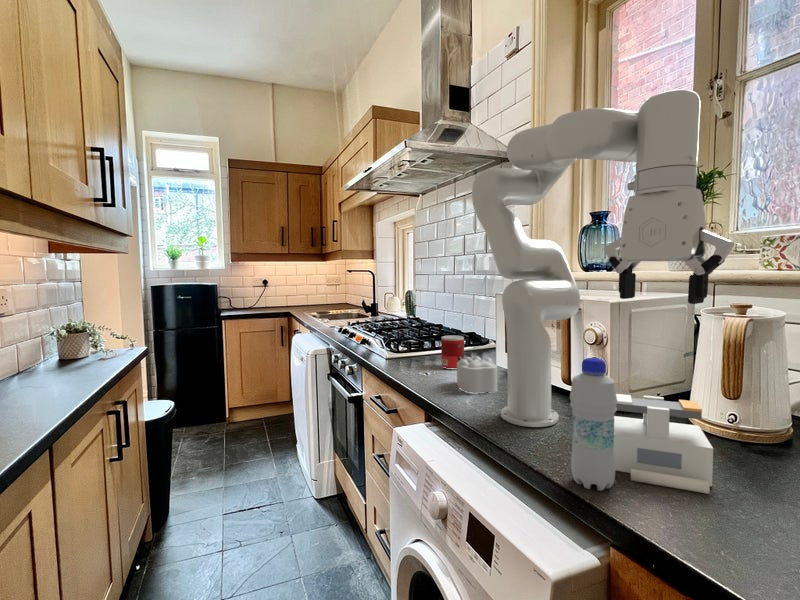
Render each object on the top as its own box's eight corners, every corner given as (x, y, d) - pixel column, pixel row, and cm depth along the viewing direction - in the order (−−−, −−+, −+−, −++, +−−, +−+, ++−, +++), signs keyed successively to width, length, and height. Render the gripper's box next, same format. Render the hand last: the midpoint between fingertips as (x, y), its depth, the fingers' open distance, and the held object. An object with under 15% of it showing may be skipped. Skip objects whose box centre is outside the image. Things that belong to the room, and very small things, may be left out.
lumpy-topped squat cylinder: (465, 395, 112) (465, 364, 112) (451, 383, 125) (451, 355, 125) (501, 392, 114) (501, 361, 114) (484, 380, 127) (484, 353, 126)
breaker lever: (615, 402, 75) (615, 393, 74) (695, 410, 69) (695, 400, 69) (616, 410, 70) (616, 401, 70) (701, 419, 65) (702, 409, 65)
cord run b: (631, 482, 65) (631, 471, 64) (630, 477, 66) (630, 466, 66) (709, 496, 60) (709, 484, 60) (706, 490, 62) (706, 478, 62)
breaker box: (608, 446, 78) (608, 390, 77) (698, 459, 72) (699, 398, 71) (609, 469, 69) (610, 406, 68) (712, 487, 63) (714, 417, 62)
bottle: (602, 472, 68) (603, 353, 67) (625, 493, 61) (627, 361, 60) (562, 473, 68) (562, 354, 67) (581, 495, 61) (582, 363, 60)
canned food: (462, 370, 140) (462, 338, 139) (439, 369, 142) (439, 338, 141) (465, 365, 147) (465, 335, 146) (443, 365, 149) (443, 335, 149)
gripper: (594, 191, 65) (591, 298, 67) (724, 170, 51) (716, 307, 52) (621, 194, 69) (617, 295, 71) (748, 175, 55) (740, 303, 56)
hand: (659, 300), depth 62 cm, fingers open, 9 cm apart
